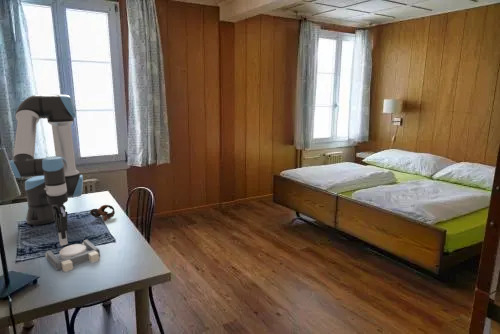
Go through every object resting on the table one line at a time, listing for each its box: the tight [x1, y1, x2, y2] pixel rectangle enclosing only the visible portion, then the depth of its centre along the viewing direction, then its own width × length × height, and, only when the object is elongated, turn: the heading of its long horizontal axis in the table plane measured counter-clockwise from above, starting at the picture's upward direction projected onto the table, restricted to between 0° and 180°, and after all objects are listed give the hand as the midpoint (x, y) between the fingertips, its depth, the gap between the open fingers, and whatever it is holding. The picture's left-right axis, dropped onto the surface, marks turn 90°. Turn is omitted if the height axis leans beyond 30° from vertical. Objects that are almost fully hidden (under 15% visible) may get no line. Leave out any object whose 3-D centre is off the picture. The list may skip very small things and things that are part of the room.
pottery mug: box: [89, 204, 116, 222], centre depth 179 cm, size 12×10×8 cm
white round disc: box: [58, 243, 88, 261], centre depth 139 cm, size 10×10×4 cm
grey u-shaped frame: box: [45, 239, 101, 273], centre depth 138 cm, size 18×16×3 cm
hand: (63, 244), depth 147 cm, fingers closed
